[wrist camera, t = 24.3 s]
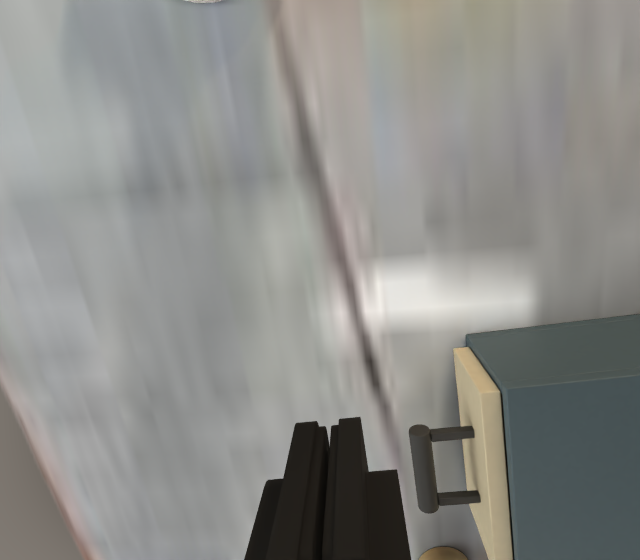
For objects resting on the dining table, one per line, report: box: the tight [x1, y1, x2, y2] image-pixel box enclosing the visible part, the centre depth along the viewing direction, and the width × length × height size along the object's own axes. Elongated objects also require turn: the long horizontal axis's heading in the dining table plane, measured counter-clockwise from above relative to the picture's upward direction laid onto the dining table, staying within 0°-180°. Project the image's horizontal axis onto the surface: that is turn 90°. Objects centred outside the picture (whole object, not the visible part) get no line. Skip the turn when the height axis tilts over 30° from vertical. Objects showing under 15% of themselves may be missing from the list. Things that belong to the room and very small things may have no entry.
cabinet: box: [466, 314, 640, 560], centre depth 28 cm, size 15×15×9 cm
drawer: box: [409, 347, 513, 560], centre depth 28 cm, size 18×13×7 cm
